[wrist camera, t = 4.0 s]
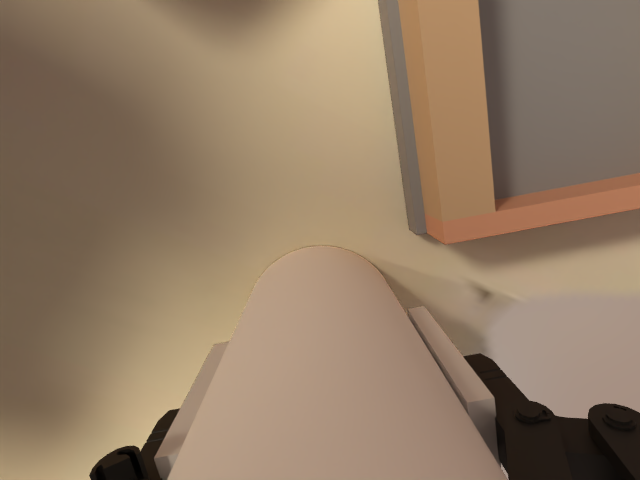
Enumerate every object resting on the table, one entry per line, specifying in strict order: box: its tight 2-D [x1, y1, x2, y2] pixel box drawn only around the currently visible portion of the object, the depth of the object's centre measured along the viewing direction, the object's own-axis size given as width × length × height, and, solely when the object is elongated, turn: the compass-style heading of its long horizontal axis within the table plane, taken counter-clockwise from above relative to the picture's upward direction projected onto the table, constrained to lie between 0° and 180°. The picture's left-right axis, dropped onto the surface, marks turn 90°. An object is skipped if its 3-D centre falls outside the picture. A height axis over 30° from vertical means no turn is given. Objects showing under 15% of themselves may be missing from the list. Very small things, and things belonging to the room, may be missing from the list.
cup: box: [167, 246, 508, 480], centre depth 13 cm, size 8×8×16 cm
